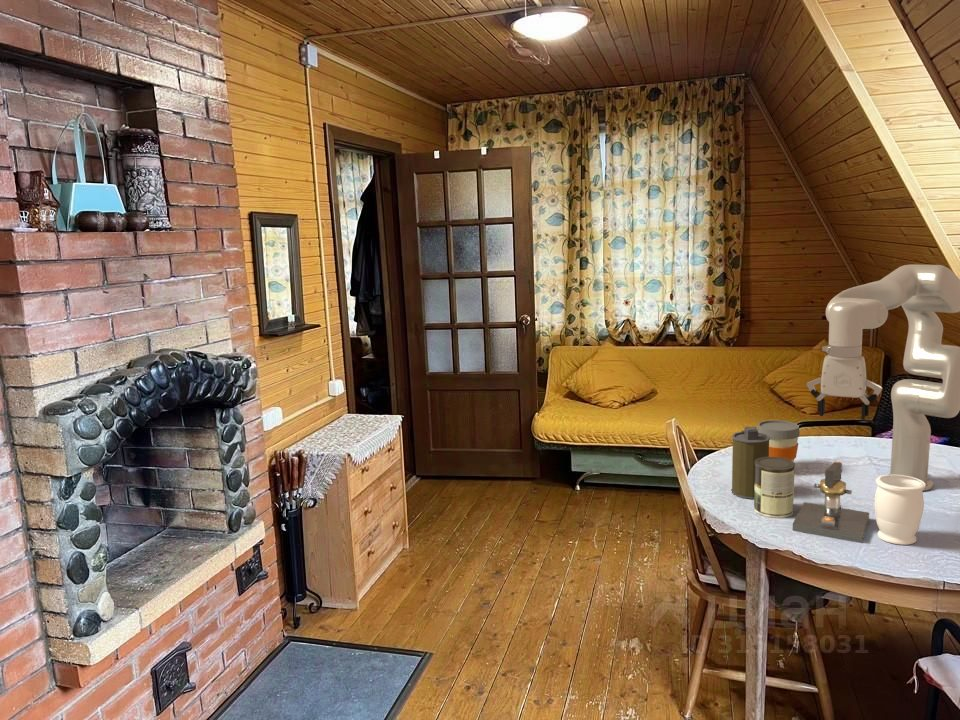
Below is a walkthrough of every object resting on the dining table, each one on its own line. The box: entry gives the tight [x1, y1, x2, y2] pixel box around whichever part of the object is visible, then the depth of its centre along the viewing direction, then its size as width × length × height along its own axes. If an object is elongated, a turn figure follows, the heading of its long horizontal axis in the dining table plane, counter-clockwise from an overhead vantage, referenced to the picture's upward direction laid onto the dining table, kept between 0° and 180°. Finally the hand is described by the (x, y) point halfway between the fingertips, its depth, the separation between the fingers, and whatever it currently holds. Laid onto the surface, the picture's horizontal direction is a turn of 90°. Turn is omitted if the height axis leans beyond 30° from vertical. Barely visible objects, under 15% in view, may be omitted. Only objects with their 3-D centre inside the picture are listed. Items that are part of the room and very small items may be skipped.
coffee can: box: [753, 457, 796, 519], centre depth 199 cm, size 10×10×14 cm
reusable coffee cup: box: [756, 419, 800, 463], centre depth 230 cm, size 13×13×15 cm
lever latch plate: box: [792, 494, 870, 544], centre depth 188 cm, size 16×16×9 cm
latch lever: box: [814, 461, 853, 497], centre depth 187 cm, size 9×8×7 cm
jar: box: [873, 474, 925, 546], centre depth 179 cm, size 11×10×15 cm
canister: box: [730, 425, 770, 500], centre depth 212 cm, size 11×10×20 cm
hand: (842, 416), depth 186 cm, fingers open, 9 cm apart
